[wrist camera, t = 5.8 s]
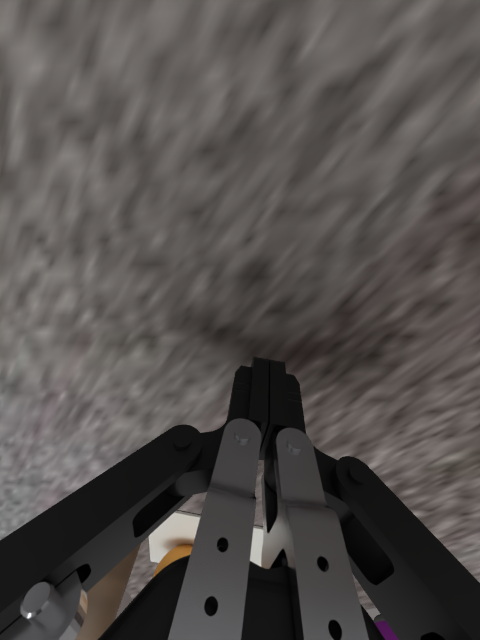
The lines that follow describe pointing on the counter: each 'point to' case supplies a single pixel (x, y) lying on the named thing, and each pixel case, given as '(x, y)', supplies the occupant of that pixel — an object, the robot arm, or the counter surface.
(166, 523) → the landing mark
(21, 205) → the counter surface
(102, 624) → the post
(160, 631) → the robot arm
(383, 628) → the beverage can
